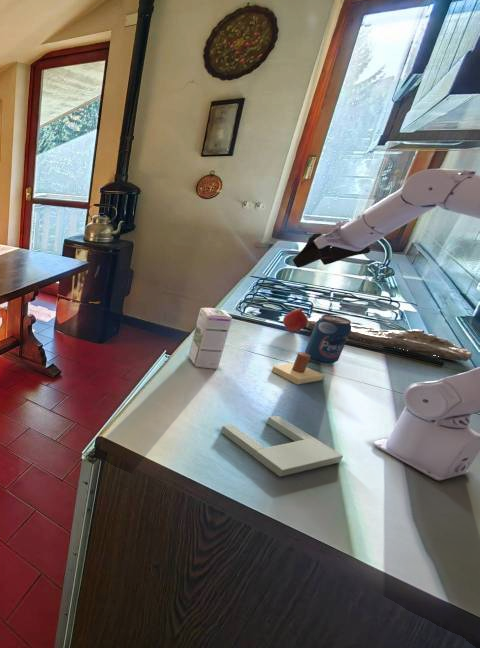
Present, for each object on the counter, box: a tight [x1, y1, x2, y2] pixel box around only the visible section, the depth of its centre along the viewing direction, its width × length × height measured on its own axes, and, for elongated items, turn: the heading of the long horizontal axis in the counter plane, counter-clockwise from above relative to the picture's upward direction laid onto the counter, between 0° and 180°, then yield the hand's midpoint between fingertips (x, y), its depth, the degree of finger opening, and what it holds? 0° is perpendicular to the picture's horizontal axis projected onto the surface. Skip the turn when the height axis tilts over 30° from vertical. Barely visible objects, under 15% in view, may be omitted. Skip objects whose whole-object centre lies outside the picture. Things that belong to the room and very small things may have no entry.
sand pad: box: [271, 352, 324, 385], centre depth 96 cm, size 6×8×6 cm
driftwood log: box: [305, 316, 473, 362], centre depth 115 cm, size 35×5×10 cm
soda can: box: [304, 314, 352, 366], centre depth 103 cm, size 7×7×12 cm
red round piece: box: [282, 307, 308, 333], centre depth 120 cm, size 6×6×8 cm
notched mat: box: [220, 415, 344, 478], centre depth 72 cm, size 12×14×2 cm
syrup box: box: [187, 307, 233, 370], centre depth 100 cm, size 6×6×14 cm
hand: (309, 262), depth 86 cm, fingers open, 7 cm apart
